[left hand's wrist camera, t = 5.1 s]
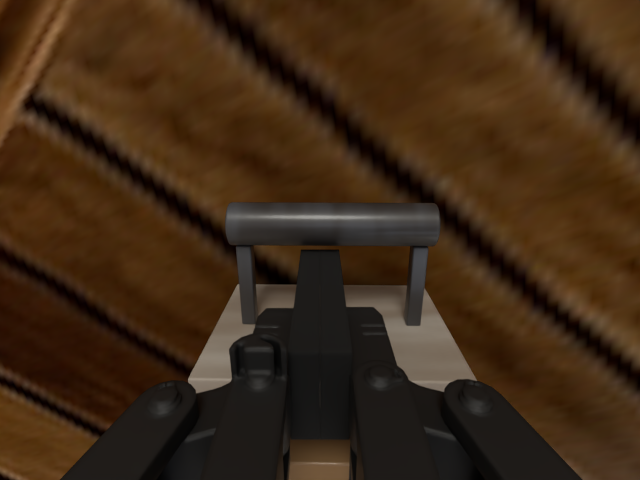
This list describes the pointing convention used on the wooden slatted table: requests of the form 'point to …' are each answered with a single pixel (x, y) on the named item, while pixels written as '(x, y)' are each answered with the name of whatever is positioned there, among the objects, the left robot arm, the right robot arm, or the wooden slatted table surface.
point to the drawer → (389, 300)
